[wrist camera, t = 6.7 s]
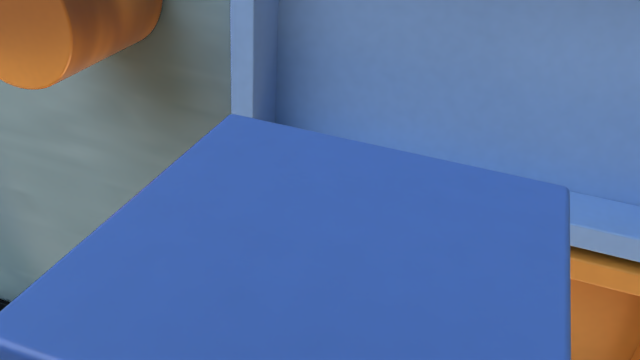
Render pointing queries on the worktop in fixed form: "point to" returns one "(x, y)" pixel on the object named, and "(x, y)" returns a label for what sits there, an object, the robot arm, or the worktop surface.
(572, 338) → the amber tray
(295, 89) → the blue tray
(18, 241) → the worktop surface
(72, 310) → the blue block
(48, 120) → the worktop surface
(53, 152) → the worktop surface
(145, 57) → the worktop surface
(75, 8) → the orange cylinder
